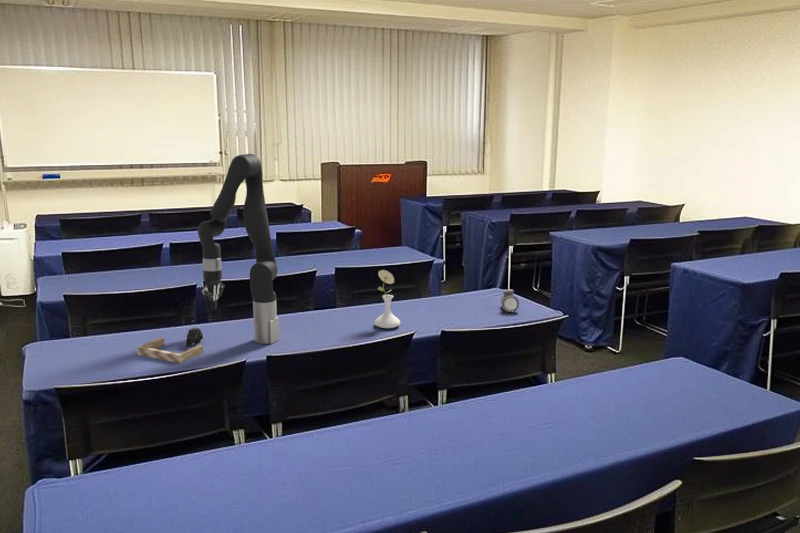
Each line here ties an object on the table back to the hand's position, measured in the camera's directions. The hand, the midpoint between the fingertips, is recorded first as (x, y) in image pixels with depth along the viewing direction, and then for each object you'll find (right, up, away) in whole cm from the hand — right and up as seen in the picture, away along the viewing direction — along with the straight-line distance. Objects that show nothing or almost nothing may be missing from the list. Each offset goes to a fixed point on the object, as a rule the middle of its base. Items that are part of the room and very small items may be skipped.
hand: (213, 308), depth 267 cm
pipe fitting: (+130, -3, +42) cm, 137 cm away
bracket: (-10, -16, -20) cm, 27 cm away
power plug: (-5, -14, -13) cm, 20 cm away
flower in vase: (+72, -9, +15) cm, 74 cm away
